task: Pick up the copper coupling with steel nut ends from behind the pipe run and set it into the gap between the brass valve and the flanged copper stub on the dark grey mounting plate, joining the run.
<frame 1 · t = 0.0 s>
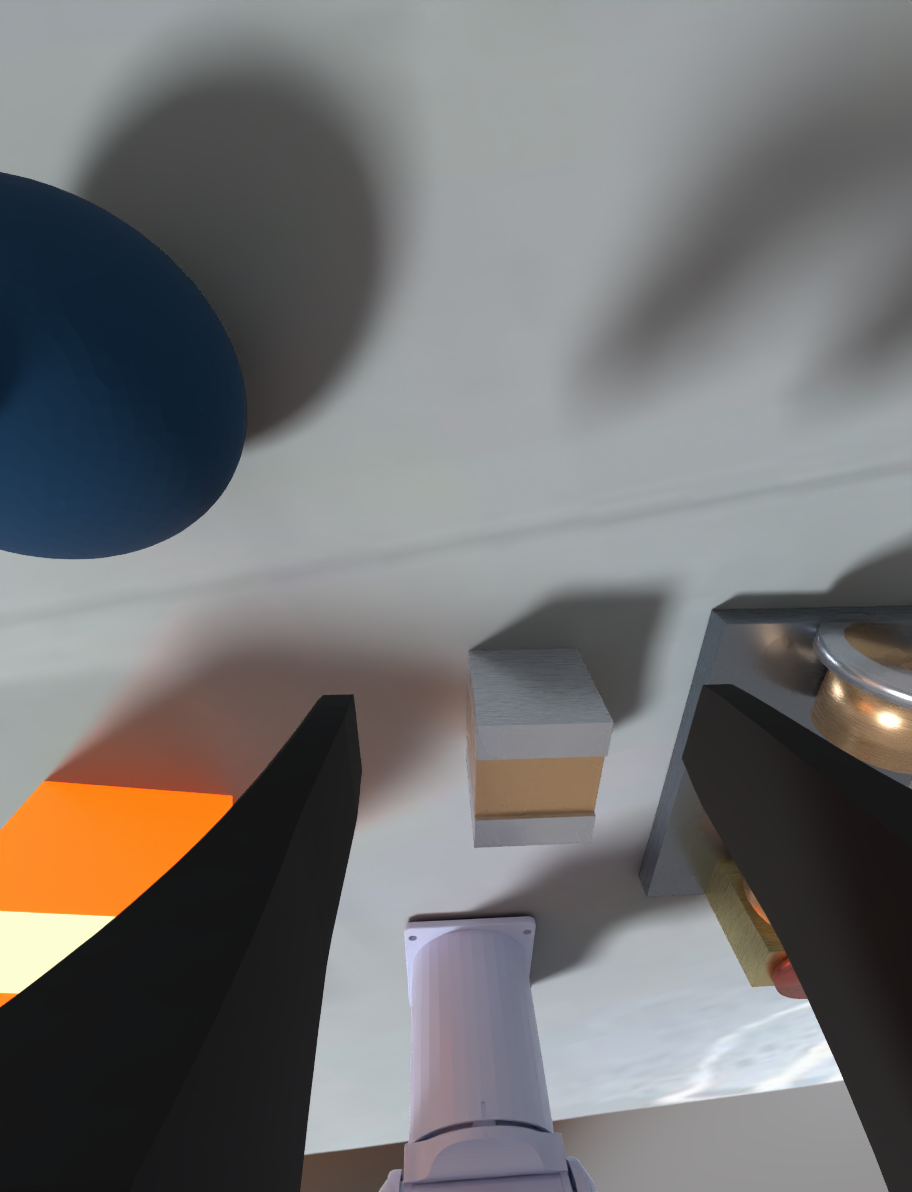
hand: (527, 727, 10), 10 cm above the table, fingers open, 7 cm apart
pipe run: (783, 761, 25), on the table
christmas ornament: (151, 379, 16), on the table
coupling: (518, 706, 23), on the table
orange juice: (149, 835, 26), on the table
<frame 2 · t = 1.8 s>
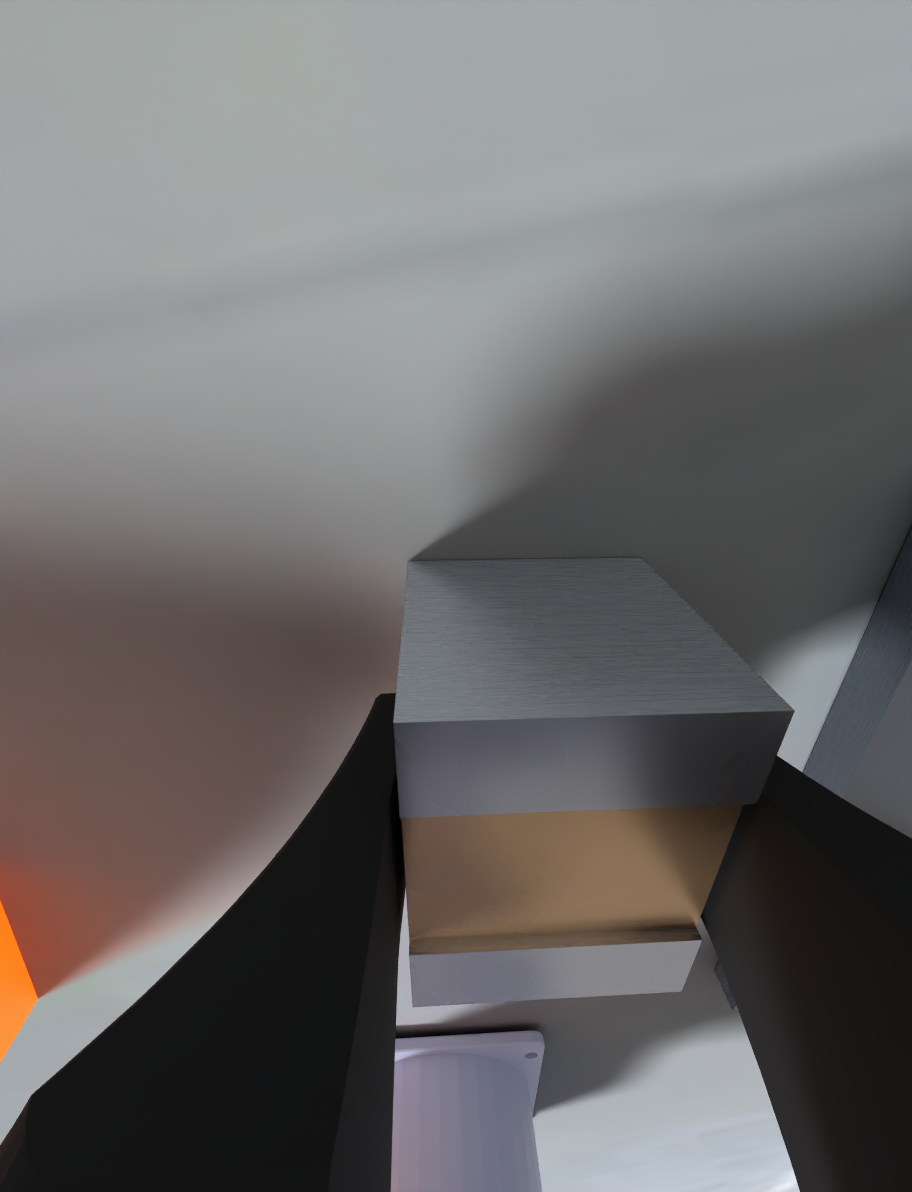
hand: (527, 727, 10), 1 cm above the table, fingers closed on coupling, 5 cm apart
coupling: (516, 685, 12), on the table, touching gripper
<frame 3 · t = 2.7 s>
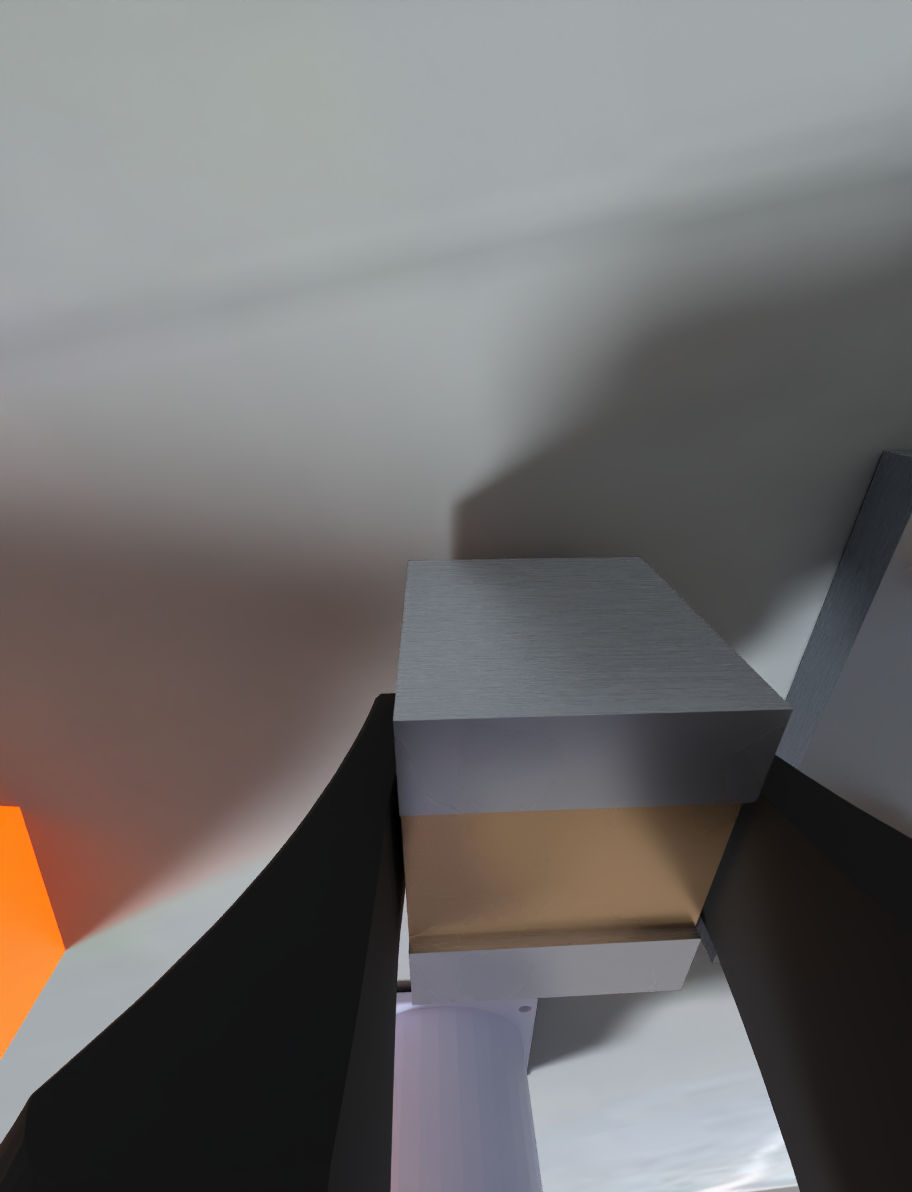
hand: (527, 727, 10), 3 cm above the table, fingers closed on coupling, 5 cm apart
coupling: (516, 685, 12), point 1 cm above the table, touching gripper
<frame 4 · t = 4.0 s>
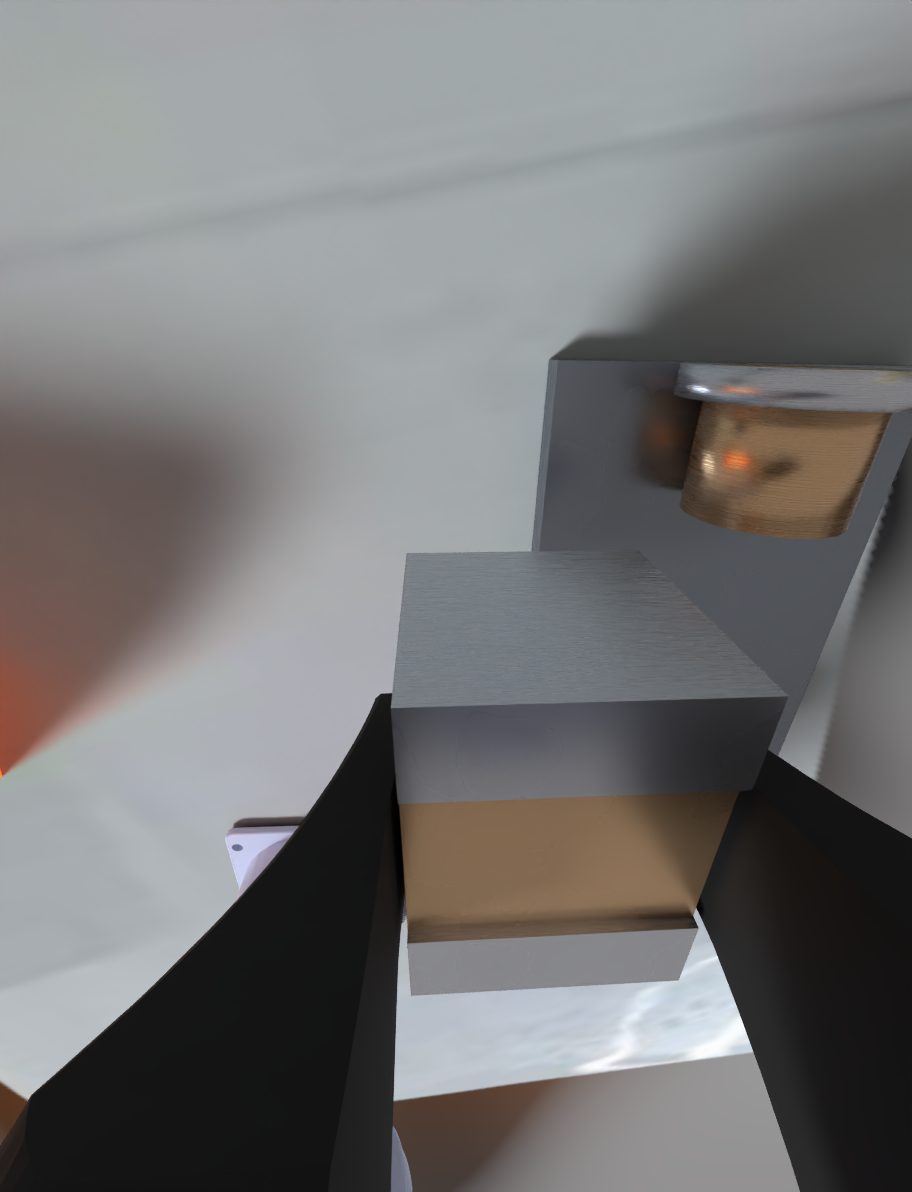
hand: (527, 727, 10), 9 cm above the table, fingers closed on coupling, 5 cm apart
pipe run: (672, 606, 20), on the table
coupling: (514, 678, 12), point 8 cm above the table, touching gripper
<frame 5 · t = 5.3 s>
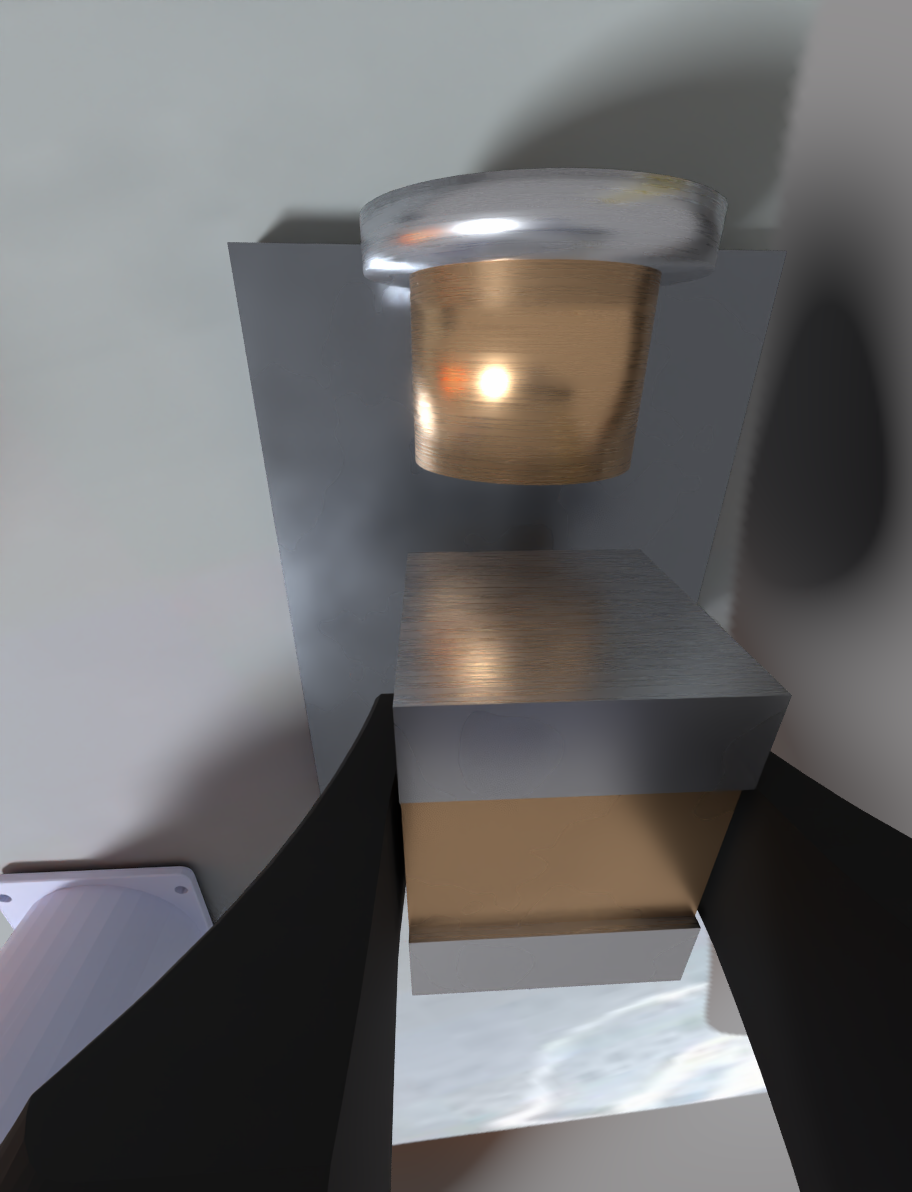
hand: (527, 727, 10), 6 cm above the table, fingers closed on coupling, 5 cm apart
pipe run: (492, 597, 16), on the table
coupling: (515, 677, 12), point 4 cm above the table, touching gripper
when the fingers open (4 cm above the table, at t = 6.2 s): coupling stays where it is, resting on pipe run.
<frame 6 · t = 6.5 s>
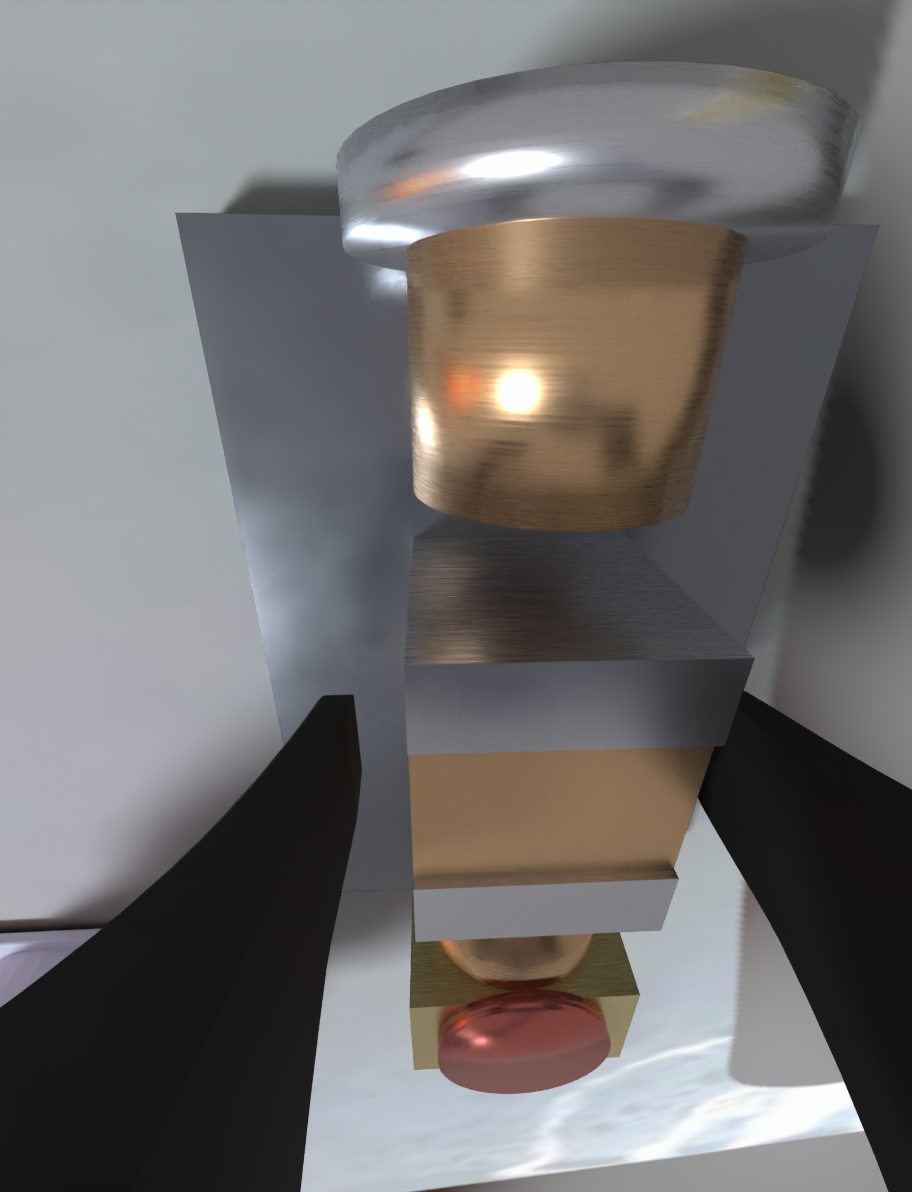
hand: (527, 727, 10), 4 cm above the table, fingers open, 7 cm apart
pipe run: (503, 636, 13), on the table
coupling: (512, 658, 12), point 1 cm above the table, touching pipe run
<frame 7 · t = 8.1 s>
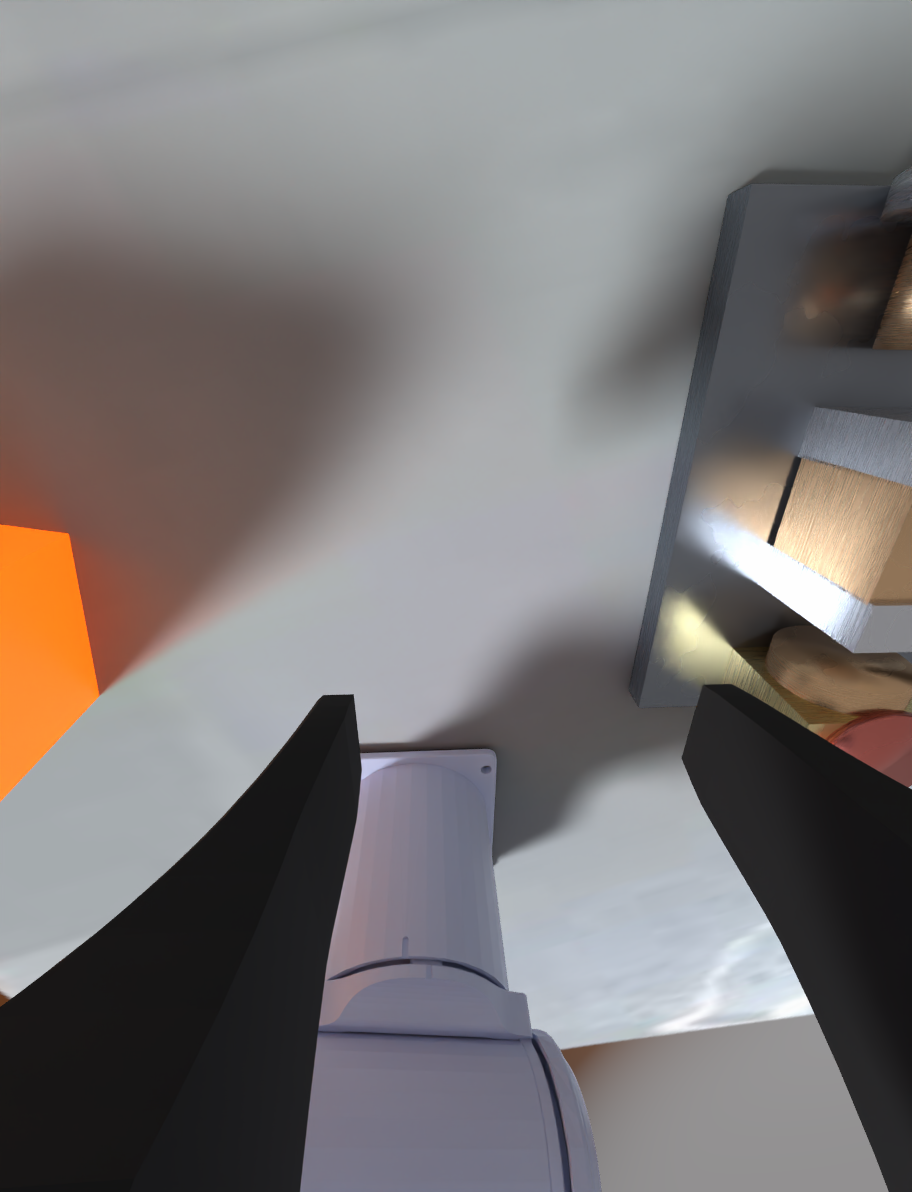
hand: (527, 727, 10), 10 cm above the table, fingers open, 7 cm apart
pipe run: (821, 495, 19), on the table
coupling: (848, 502, 18), point 1 cm above the table, touching pipe run
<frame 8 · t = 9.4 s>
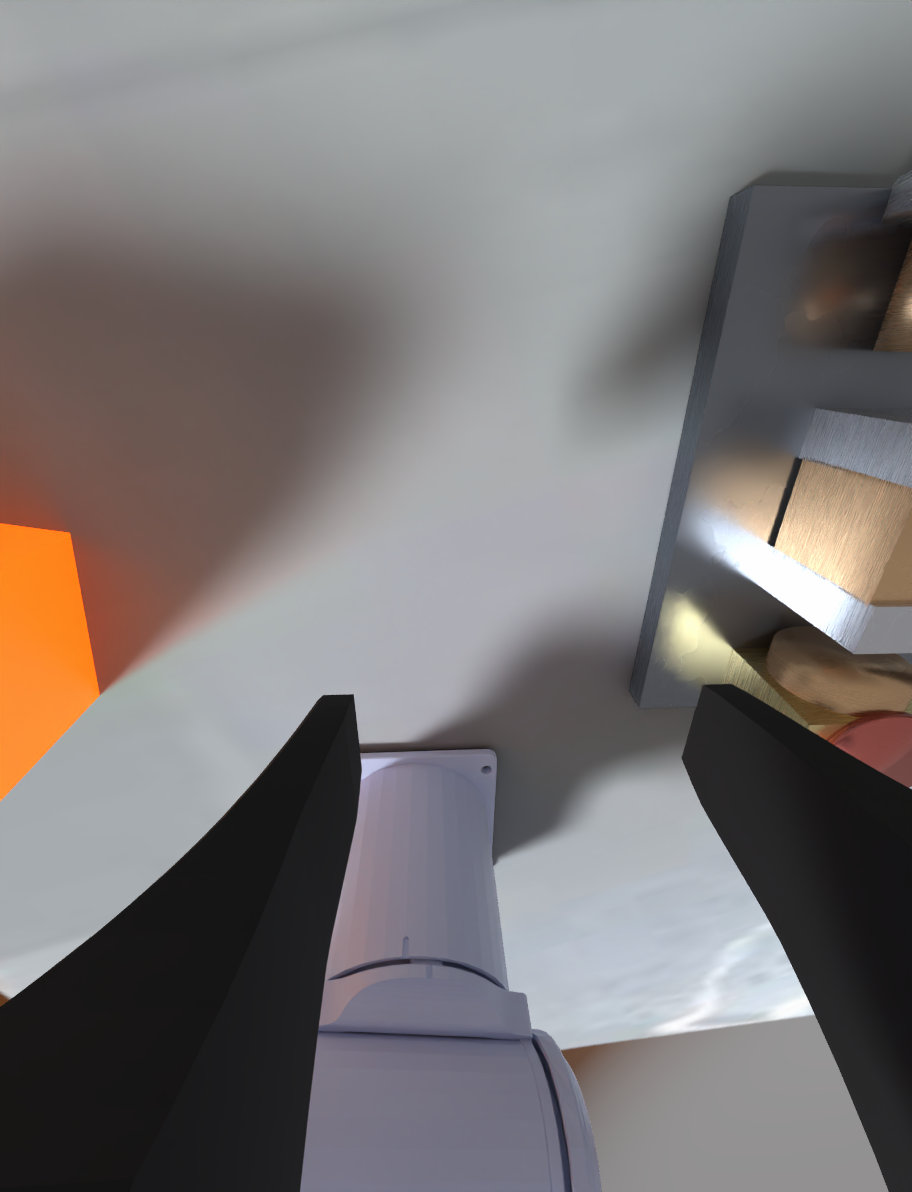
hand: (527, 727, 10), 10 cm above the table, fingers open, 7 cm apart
pipe run: (822, 497, 19), on the table
coupling: (848, 503, 18), point 1 cm above the table, touching pipe run
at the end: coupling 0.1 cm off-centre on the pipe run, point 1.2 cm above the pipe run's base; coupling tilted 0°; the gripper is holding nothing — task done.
